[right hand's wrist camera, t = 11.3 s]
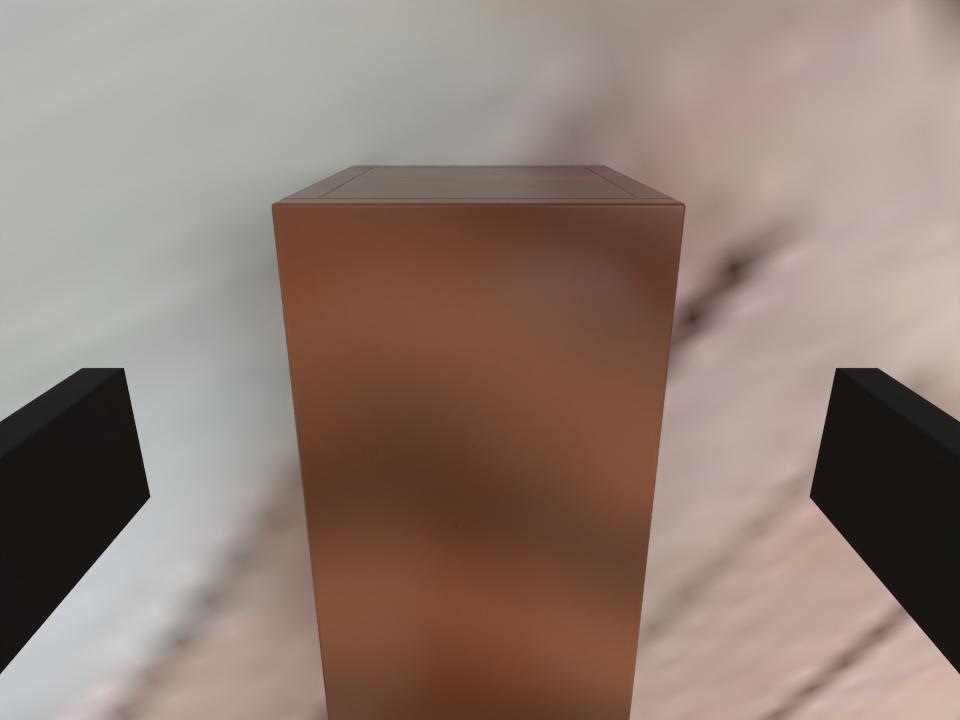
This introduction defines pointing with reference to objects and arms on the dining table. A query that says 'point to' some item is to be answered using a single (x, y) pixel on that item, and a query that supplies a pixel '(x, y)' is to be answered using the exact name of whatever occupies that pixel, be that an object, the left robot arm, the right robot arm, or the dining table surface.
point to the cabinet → (478, 431)
